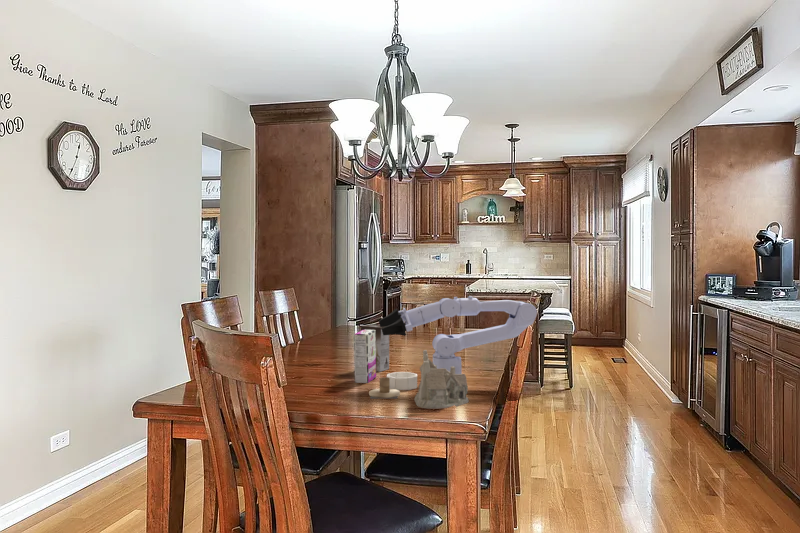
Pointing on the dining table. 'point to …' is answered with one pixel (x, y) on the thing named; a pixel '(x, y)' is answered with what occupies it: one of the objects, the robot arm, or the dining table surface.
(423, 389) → the ceramic cottage
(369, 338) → the candy bar box
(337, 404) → the dining table surface
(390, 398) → the mat
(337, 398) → the dining table surface
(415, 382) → the bowl
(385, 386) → the lid
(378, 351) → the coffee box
